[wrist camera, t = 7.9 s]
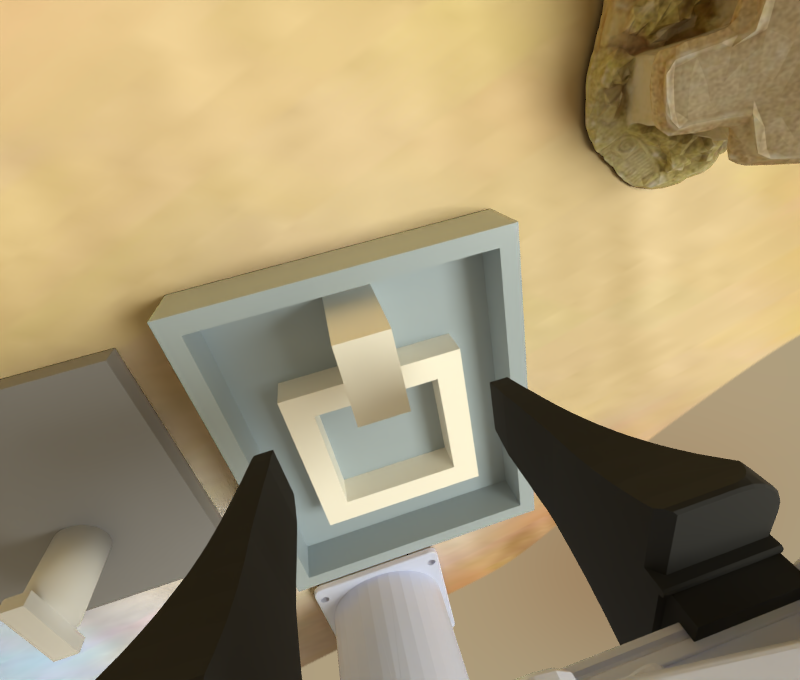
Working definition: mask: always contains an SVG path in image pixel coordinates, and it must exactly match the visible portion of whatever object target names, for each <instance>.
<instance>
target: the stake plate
mask: <svg viewBox="0 0 800 680" xmlns="http://www.w3.org/2000/svg"><path fill="white" fill-rule="evenodd" d="M221 520H222V517H221V516H220V514H219V513H218V511H217V509H216V508H215V506H214V505H213V503H212V501H211V500H210V498H209V497H208V495H207V494H206V492H205V490H204V489H203V487H202V486H201V484H200V482H199V481H198V479H197V478H196V476H195V474H194V473H193V471H192V470H191V468H190V467H189V465H188V463H187V462H186V460H185V459H184V457H183V455H182V454H181V452H180V451H179V449H178V447H177V446H176V444H175V443H174V441H173V440H172V438H171V436H170V435H169V433H168V432H167V430H166V428H165V427H164V425H163V424H162V422H161V420H160V419H159V417H158V416H157V414H156V412H155V411H154V409H153V408H152V406H151V405H150V403H149V401H148V400H147V398H146V397H145V395H144V393H143V392H142V390H141V389H140V387H139V385H138V384H137V382H136V381H135V379H134V378H133V376H132V374H131V373H130V371H129V370H128V368H127V366H126V365H125V363H124V362H123V360H122V358H121V357H120V355H119V354H118V352H117V351H116V349H115V348H113V349H109V350H106V351H102V352H99V353H95V354H91V355H88V356H84V357H80V358H77V359H73V360H69V361H66V362H62V363H59V364H55V365H51V366H48V367H44V368H40V369H37V370H33V371H29V372H26V373H22V374H19V375H15V376H11V377H8V378H4V379H0V620H1V621H2V622H4V623H5V624H6V625H7V626H9V627H10V628H11V629H12V630H14V631H15V632H16V633H18V634H19V635H20V636H21V637H23V638H24V639H25V640H26V641H28V642H29V643H30V644H32V645H33V646H34V647H35V648H37V649H38V650H39V651H40V652H42V653H43V654H44V655H46V656H47V657H48V658H49V659H51V660H52V661H53V662H55V661H58V660H61V659H63V658H66V657H69V656H72V655H75V654H78V653H79V652H80V650H81V647H82V644H83V642H84V639H85V637H84V636H83V635H82V634H80V633H79V632H78V631H77V630H76V628H77V627H78V626H79V625H80V624H81V621H82V619H83V616H84V614H85V611H87V610H90V609H93V608H96V607H99V606H102V605H105V604H108V603H111V602H114V601H117V600H120V599H123V598H126V597H129V596H132V595H135V594H138V593H141V592H144V591H147V590H150V589H153V588H156V587H159V586H162V585H165V584H168V583H171V582H174V581H177V580H180V579H183V578H185V577H186V575H187V574H188V572H189V571H190V570H191V568H192V567H193V565H194V564H195V562H196V561H197V559H198V558H199V556H200V555H201V553H202V552H203V550H204V548H205V547H206V545H207V544H208V542H209V540H210V539H211V537H212V535H213V533H214V532H215V530H216V528H217V526H218V525H219V523H220V521H221Z"/></svg>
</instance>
